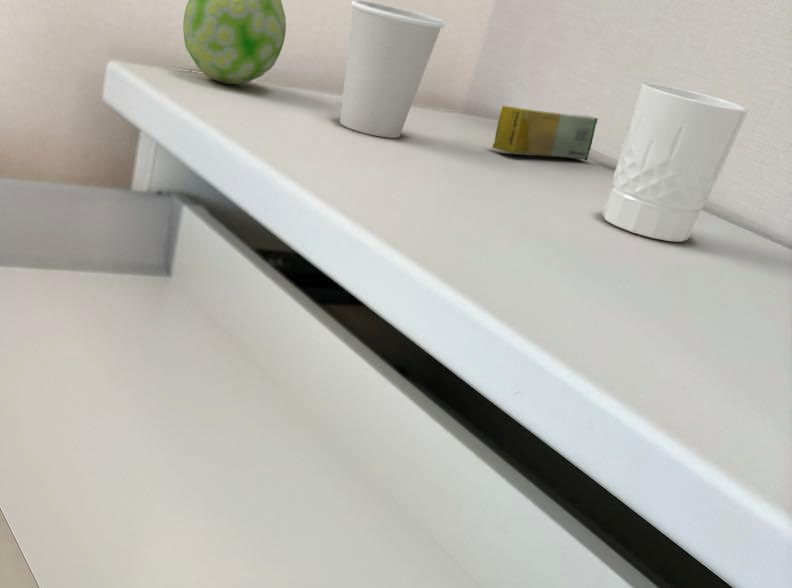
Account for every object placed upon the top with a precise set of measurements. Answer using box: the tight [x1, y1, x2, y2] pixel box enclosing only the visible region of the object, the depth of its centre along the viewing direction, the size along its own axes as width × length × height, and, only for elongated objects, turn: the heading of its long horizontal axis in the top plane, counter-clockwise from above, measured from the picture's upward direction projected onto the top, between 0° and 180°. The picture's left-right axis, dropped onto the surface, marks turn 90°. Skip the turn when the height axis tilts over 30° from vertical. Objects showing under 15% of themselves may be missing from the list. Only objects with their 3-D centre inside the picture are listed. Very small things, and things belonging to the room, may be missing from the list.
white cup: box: [602, 82, 749, 243], centre depth 84 cm, size 8×8×10 cm
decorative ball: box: [182, 0, 287, 85], centre depth 104 cm, size 10×10×10 cm
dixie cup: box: [339, 0, 445, 139], centre depth 98 cm, size 8×8×10 cm
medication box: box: [492, 105, 599, 162], centre depth 105 cm, size 12×3×4 cm, turn 127°
